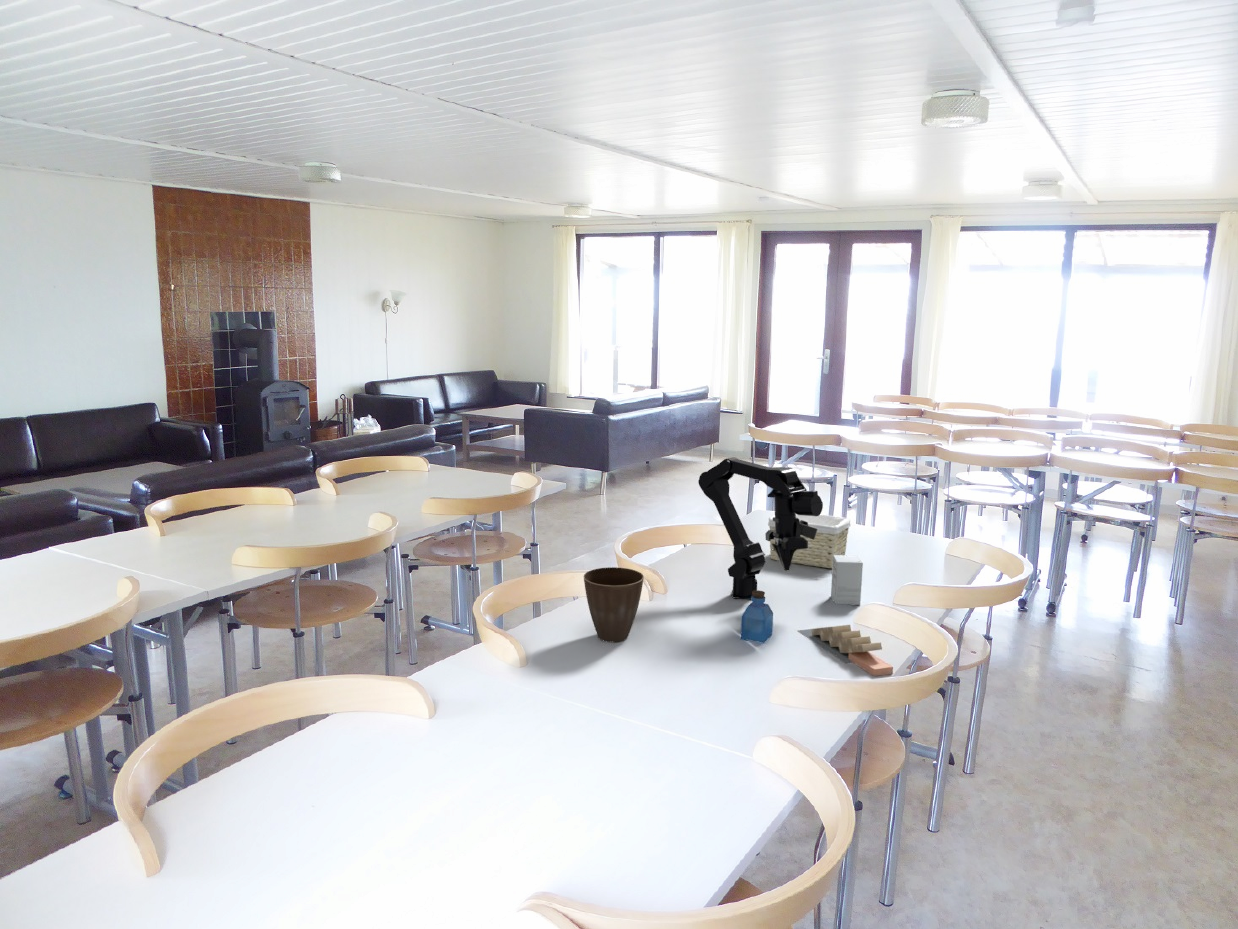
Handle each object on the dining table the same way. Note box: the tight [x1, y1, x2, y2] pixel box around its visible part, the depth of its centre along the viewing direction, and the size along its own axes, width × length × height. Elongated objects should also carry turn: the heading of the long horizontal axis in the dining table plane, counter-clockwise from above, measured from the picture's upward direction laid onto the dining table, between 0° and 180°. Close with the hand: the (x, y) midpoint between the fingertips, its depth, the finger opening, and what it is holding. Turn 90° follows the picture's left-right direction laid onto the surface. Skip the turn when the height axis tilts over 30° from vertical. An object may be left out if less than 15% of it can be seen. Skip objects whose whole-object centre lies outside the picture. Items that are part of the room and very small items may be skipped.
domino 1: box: [811, 624, 852, 635], centre depth 211 cm, size 2×5×10 cm
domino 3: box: [829, 635, 872, 647], centre depth 204 cm, size 2×5×10 cm
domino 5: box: [848, 651, 894, 677], centre depth 196 cm, size 2×5×10 cm
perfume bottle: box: [740, 589, 774, 644], centre depth 213 cm, size 6×6×12 cm
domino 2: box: [820, 630, 862, 641], centre depth 208 cm, size 2×5×10 cm
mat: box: [797, 626, 855, 664], centre depth 209 cm, size 22×9×1 cm, turn 19°
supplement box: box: [830, 554, 864, 606], centre depth 242 cm, size 7×7×13 cm
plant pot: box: [583, 566, 645, 643], centre depth 211 cm, size 15×15×16 cm
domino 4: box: [839, 642, 883, 653], centre depth 200 cm, size 2×5×10 cm
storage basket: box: [767, 514, 851, 569], centre depth 283 cm, size 24×16×15 cm
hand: (786, 570), depth 233 cm, fingers closed
